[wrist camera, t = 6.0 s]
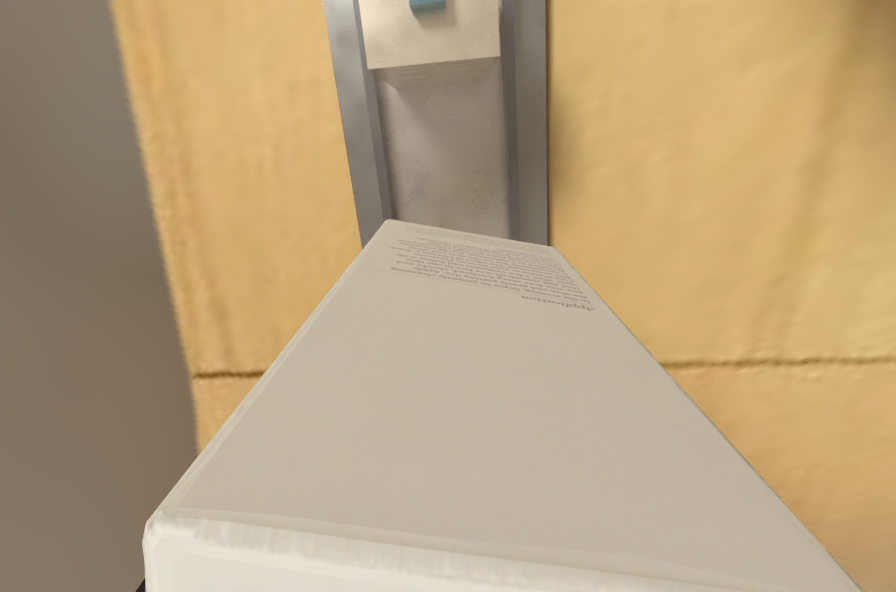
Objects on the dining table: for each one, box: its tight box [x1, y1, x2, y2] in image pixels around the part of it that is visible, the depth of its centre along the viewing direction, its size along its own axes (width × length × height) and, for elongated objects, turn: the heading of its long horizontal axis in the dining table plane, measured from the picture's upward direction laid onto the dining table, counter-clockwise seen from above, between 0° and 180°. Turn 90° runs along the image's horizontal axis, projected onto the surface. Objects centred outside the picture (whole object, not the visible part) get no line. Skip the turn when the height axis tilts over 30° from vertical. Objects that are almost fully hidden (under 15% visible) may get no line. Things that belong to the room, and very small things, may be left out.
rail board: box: [323, 0, 547, 250], centre depth 25 cm, size 13×24×12 cm, turn 5°
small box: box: [142, 219, 864, 592], centre depth 11 cm, size 8×6×13 cm
